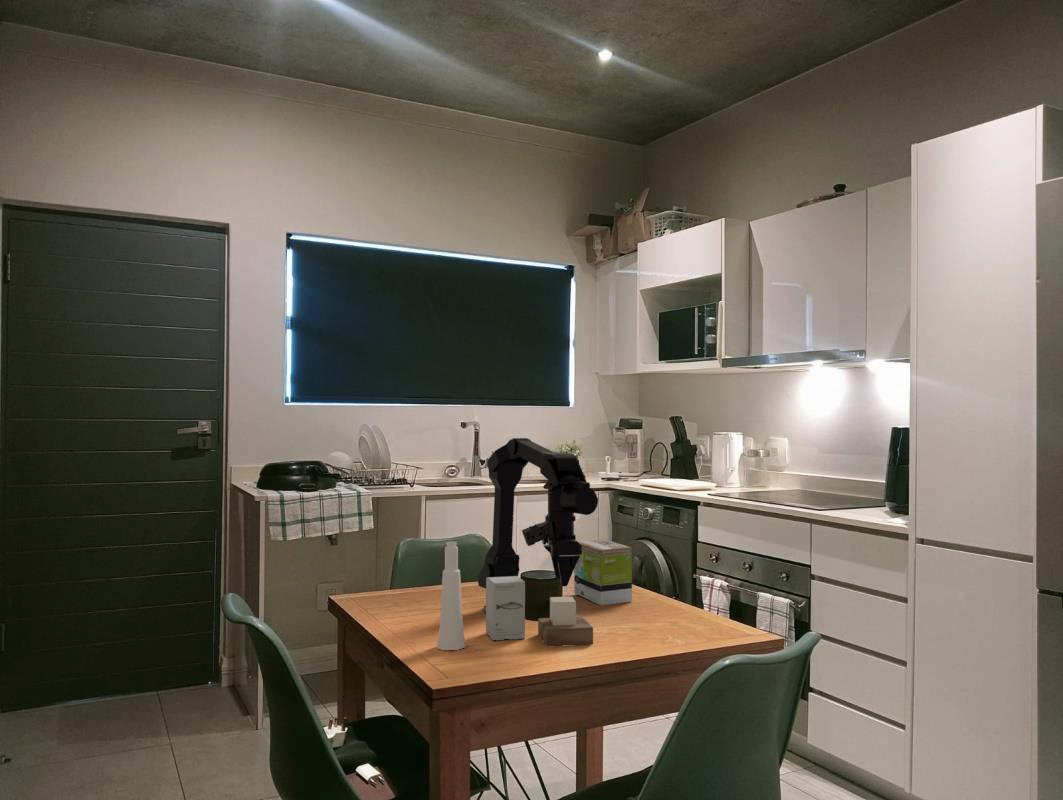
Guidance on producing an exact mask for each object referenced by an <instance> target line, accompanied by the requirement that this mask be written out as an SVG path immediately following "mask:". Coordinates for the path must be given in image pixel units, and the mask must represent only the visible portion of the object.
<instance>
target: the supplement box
mask: <svg viewBox="0 0 1063 800" xmlns="http://www.w3.org/2000/svg"><path fill="white" fill-rule="evenodd" d="M525 605H526V581H525V580H523V579H522V578H520V577H519V575H518V576H510V577H487V578H486V589H485V606H486V613H485V634H486V635H487V634H488V635H489V636H490V637H489V636H488V635H487V636H488V637H489V638H490V639H491V641H493V640H496V641H505V640H504V639H509V640H524V639H526V638H525V637H526V606H525ZM523 638H524V639H523Z"/></svg>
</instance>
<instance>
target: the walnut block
mask: <svg viewBox="0 0 1063 800" xmlns="http://www.w3.org/2000/svg"><path fill="white" fill-rule="evenodd" d="M537 629H538V630H537V635H538V636H539V638H540V637H541V638H540V639H541V641H542V640H543V641H544V642H543V641H542V642H543V643H544V645H545V644H546V645H547V646H555V647H564V646H563V645H575V646H589V644H593V645H594V627H593V626H592V624H591V623H589V622H588V621H587V620H586V619H585V618H584V617H583V616H580V615H579V616H576V625H554V626H553V625H552V623H551V621H550V617H540V618H538V619H537ZM546 645H545V646H546ZM547 646H546V647H547Z"/></svg>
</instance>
